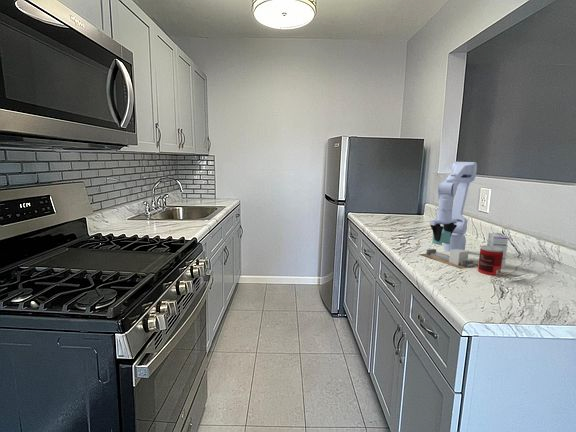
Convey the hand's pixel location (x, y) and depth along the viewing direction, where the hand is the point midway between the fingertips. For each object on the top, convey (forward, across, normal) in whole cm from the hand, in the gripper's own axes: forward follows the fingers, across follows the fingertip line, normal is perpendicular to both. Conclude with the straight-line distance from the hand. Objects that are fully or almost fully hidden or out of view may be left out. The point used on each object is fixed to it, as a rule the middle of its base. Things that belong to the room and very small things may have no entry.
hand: (441, 240), depth 151 cm
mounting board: (+9, 0, +4) cm, 10 cm away
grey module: (+8, 0, +9) cm, 12 cm away
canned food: (+9, -1, +22) cm, 24 cm away
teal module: (+2, 0, 0) cm, 2 cm away
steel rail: (+8, 0, +4) cm, 9 cm away
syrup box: (+9, -12, +17) cm, 23 cm away
